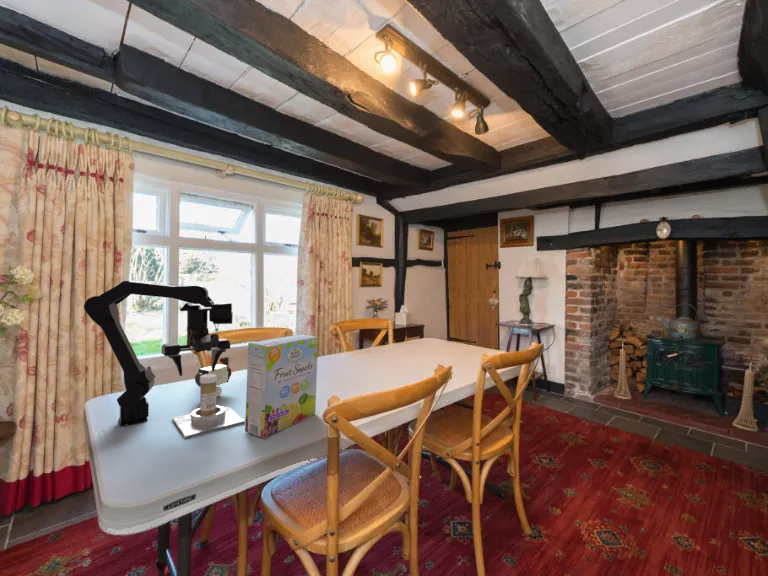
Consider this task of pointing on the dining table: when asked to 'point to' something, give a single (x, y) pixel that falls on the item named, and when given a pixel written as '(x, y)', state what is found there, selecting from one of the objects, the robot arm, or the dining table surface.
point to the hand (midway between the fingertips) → (197, 373)
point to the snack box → (280, 383)
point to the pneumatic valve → (221, 372)
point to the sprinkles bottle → (208, 394)
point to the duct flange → (207, 421)
